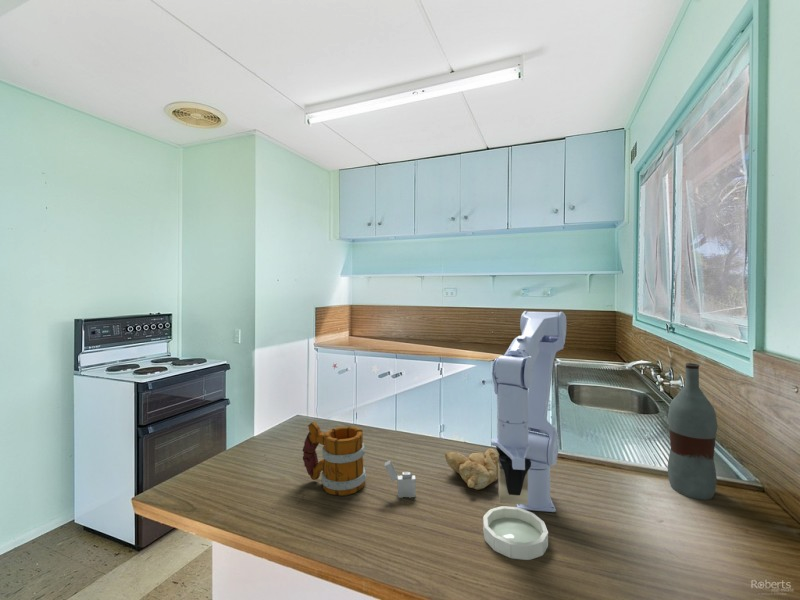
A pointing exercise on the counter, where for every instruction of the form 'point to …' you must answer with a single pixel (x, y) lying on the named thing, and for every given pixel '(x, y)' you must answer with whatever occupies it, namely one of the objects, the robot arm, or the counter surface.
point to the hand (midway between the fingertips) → (512, 488)
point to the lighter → (402, 481)
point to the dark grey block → (503, 490)
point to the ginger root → (475, 467)
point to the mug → (336, 459)
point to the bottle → (692, 440)
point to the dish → (515, 532)
